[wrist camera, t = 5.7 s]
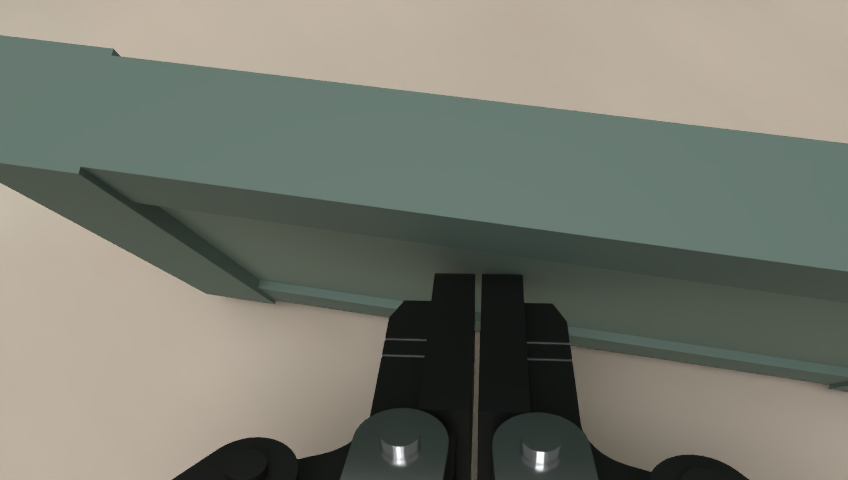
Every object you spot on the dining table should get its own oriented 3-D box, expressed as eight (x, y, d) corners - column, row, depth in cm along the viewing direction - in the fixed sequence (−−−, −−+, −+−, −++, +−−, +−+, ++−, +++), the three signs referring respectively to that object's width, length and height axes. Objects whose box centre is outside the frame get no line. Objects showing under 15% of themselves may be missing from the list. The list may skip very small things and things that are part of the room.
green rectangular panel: (912, 324, 19) (1364, 197, 9) (910, 401, 18) (1384, 353, 9) (221, 226, 21) (-10, 34, 11) (206, 293, 20) (-49, 156, 11)
